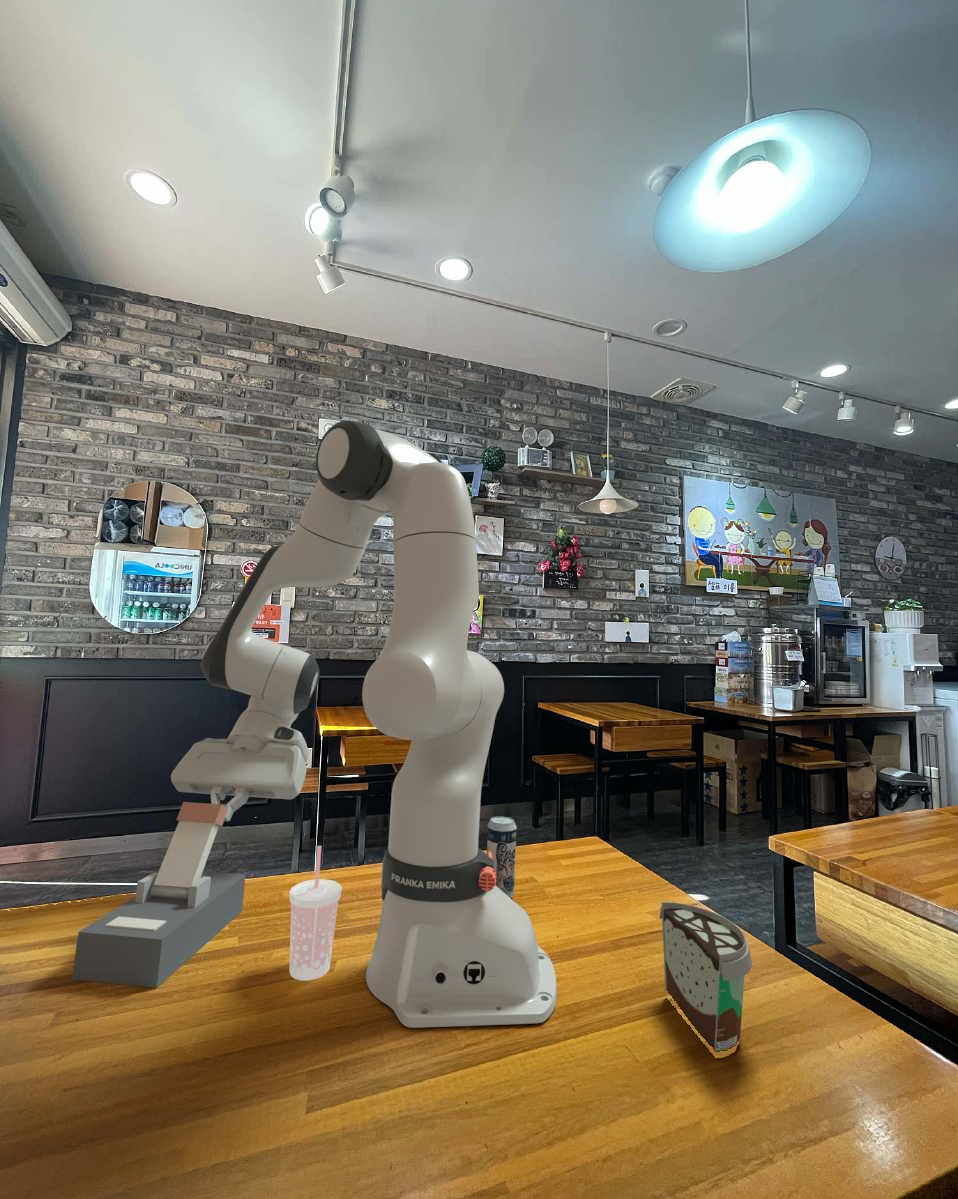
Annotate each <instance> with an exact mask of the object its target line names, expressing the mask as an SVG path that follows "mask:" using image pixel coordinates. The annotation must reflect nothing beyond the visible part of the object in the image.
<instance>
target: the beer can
mask: <svg viewBox="0 0 958 1199" xmlns="http://www.w3.org/2000/svg"><path fill="white" fill-rule="evenodd" d="M486 840H487V841H486V842H487V843H486V844H487V847H486V854H487V855H489V851H490V852H491V854H492V860H493V861H494V870H495V872H496V875H497V877H496V886H497V887H498V888H499V889H500V890H502V891H503V892H504V893H505V894H506V895H507V896H508V897H509V898H510V897H512V896H513V895H514V896H515V879H516V878H515V876H516V848H517V825H516V823H515V820H514V819H513V818H511V817H507V816H493V817H490V820H489V822H488V823H487V839H486Z"/></svg>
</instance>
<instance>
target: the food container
mask: <svg viewBox="0 0 958 1199" xmlns="http://www.w3.org/2000/svg"><path fill="white" fill-rule="evenodd" d="M659 910H660V911H659V920H662V921H661V923H662V925H661V926H662V941H663V942H662V943H663V944H662V946H663V966H664V970H663V971H664V987H665V988H664V990H666V991H668V993H669V994H670V995H671V996H672V998H673V999H674V1001H676V1003H677V1004H678V1006H679V1007H680V1009H681V1010H682V1011H683V1013H684V1014H685V1016H686V1017H687V1018H688V1020H689V1021H690V1022H691V1024H692V1025H693V1026H694V1027H695V1029H696V1030H697V1031H698V1033H700V1035H701V1036H702V1037H703V1038H704V1039H705V1040H706V1042H708V1044H709V1045H710V1046H712V1047H713V1049H714V1051H715V1052H720V1051H727V1050H728V1049H731V1048H732V1047H734V1046H736V1044H737V1042H738V1041H739V1039H740V1040H741V1032H742V1018H743V1017H742V1016H743V1015H742V1014H743V1001H744V1000H743V999H744V988H745V987H744V985H745V976H746V975H747V974H748V973H750V971H751V970H752V967H753V959H752V955H751V951H750V944H749V943H748V941H747V939H746V936H745V933H744V932H743V931H742V930H741V929H740V927H739V926H737V925H736V924H735V923H733V922H732V921H731V920H729V919H727V918H726V917H724V916H722V915H720V914H719V913H716V912H714V911H710V910H709V909H706V908H703V907H700V906H695V905H692V904H687V903H681V902H671V901H670V902H669V901H661V906H660V908H659Z"/></svg>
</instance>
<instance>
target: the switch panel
mask: <svg viewBox="0 0 958 1199" xmlns="http://www.w3.org/2000/svg"><path fill="white" fill-rule="evenodd" d="M158 873H159V872H155V871H154V872H152V873H150V874H148V875H146V876H145V877H143V878H142V879H140V880H138V881H137V883H136V892H135V896H134V897H132V898H131V899H130V900H128V901H127V902H125V903H123V904H122V905H120V906H119V907H117V908H115V909H113V910H112V911H110V912H108V913H106V914H105V915H104V916H102V917H100V918H99V919H97V920H95V921H94V922H92V923H91V924H89V925H87V926H86V927H84V928H82V929H81V930H79V931H78V932H77V937H76V938H77V939H76V946H75V955H74V956H75V957H74V962H73V970H72V971H73V972H72V976H71V980H75V981H84V982H94V983H104V984H114V985H124V986H133V987H134V986H135V987H141V988H142V987H143V988H144V987H145V988H153V989H154V988H155V989H157V988H158V987H160V986H161V985H162V984H163V983H164V982H165V981H166V980H167V979H168V978H170V976H172V975H173V974H174V973H175V972H176V971H177V970H179V969H180V968H181V967H182V966H183V965H185V963H186V962H188V960H190V959H191V958H192V957H193V956H194V955H195V954H196V953H197V952H198V951H199V950H201V949H202V948H203V947H204V946H206V944H207V943H209V941H211V940H212V939H213V938H214V937H216V935H217V934H218V933H220V932H221V931H222V930H223V929H224V928H225V927H227V926H228V925H229V924H230V923H231V922H232V921H233V920H234V919H235V918H237V916H239V915H240V914H241V913H243V907H244V906H243V905H244V904H243V903H244V896H245V895H244V894H245V884H246V874H241V873H240V874H239V873H230V872H229V873H228V872H217V871H215V872H214V871H206V870H205V871H204V870H203V872H202V875H201V878H200V879H199V880H198V881H196V882H195V883H193V884H192V885H190V887H189V896H188V899H181V898H169V897H157V896H151V889H152V887H153V886H154V883H155V880H156V878H157V875H158Z"/></svg>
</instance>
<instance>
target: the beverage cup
mask: <svg viewBox="0 0 958 1199" xmlns="http://www.w3.org/2000/svg"><path fill="white" fill-rule="evenodd" d="M316 848H317V849H316V862H315V873H314V879H310V880H305V881H302V882H299V883H296V884H295V885H294V886H292V887H291V888H290V890H289V899H288V900H289V902H290V936H289V937H290V938H289V943H290V944H289V970H288V971H289V974H290V976H291V977H292V978H293V979H295V980H298V981H312V980H313V981H314V980H316V979H320V978H321V977H323V976H325V975H326V974H327V973H328V972H329V969H330V966H331V959H332V953H333V952H332V951H333V944H334V943H333V942H334V936H335V935H334V934H335V929H336V923H337V921H336V920H337V913H338V907H339V900H340V899H341V896H342V890H343V887H342V885H341V884H340V883H338V882H337V881H335V880H331V879H324V878H323V879H321V878H320V870H321V856H322V845H317V847H316Z"/></svg>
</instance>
